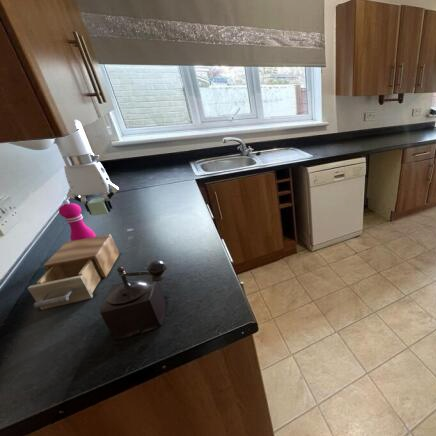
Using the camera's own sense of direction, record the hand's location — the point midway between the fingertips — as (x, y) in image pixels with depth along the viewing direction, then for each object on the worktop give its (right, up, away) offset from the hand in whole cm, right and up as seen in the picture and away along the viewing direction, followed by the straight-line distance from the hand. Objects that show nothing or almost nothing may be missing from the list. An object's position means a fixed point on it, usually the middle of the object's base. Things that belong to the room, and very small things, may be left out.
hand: (101, 211), depth 94 cm
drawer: (+5, -25, -15) cm, 30 cm away
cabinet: (0, -21, -4) cm, 21 cm away
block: (0, 0, 0) cm, 0 cm away
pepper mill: (-15, -14, +11) cm, 23 cm away
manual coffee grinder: (+33, -29, -23) cm, 49 cm away
